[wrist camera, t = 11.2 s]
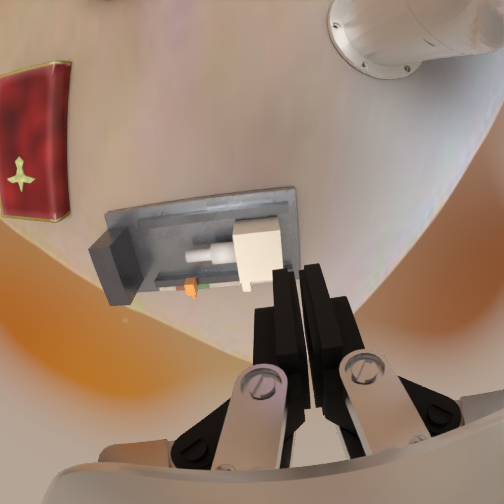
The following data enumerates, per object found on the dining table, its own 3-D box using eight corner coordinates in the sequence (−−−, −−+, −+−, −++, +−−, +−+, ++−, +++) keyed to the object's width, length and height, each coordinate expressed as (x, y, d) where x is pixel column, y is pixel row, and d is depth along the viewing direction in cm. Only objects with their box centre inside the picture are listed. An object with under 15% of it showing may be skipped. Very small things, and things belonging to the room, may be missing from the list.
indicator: (195, 277, 37) (193, 284, 36) (199, 294, 39) (198, 302, 37) (186, 278, 38) (183, 285, 36) (191, 295, 39) (188, 302, 37)
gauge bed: (294, 186, 35) (302, 205, 29) (299, 273, 40) (306, 305, 34) (107, 211, 36) (82, 233, 30) (132, 288, 42) (115, 317, 36)
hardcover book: (74, 62, 27) (56, 60, 23) (72, 212, 37) (57, 223, 33) (13, 75, 26) (-5, 76, 23) (16, 207, 36) (0, 217, 32)
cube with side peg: (277, 216, 35) (280, 230, 31) (282, 276, 39) (285, 294, 35) (185, 226, 36) (177, 241, 32) (198, 284, 39) (193, 302, 36)
